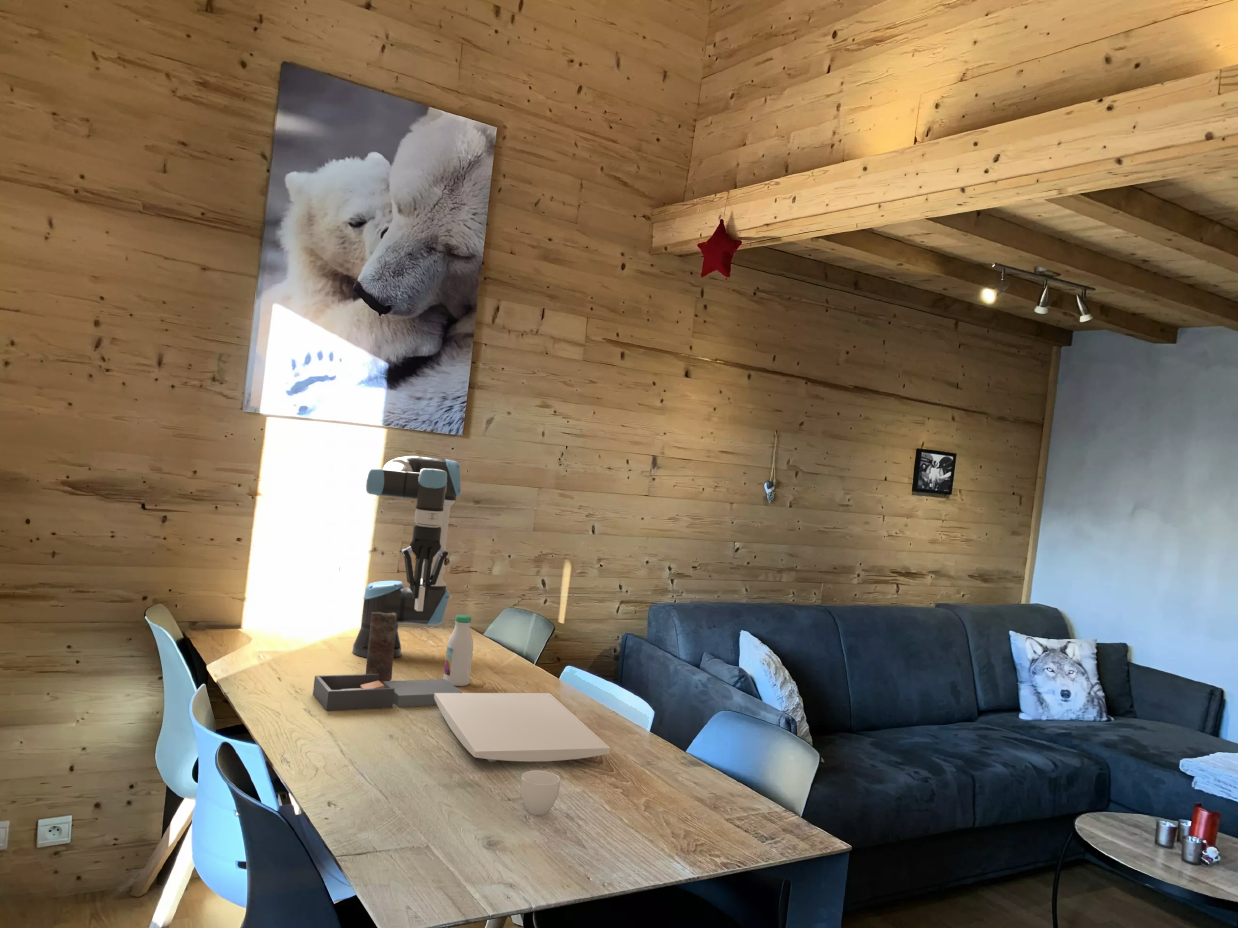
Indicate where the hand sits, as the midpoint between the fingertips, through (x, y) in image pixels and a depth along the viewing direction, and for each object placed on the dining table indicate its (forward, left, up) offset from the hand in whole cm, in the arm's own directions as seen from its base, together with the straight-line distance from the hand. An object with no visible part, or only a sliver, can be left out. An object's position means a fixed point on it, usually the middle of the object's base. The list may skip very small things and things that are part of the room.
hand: (418, 609), depth 248 cm
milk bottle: (-10, +18, -24) cm, 32 cm away
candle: (-15, -4, -24) cm, 29 cm away
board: (+38, +15, -24) cm, 47 cm away
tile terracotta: (+3, -11, -22) cm, 24 cm away
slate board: (+3, +3, -24) cm, 24 cm away
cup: (+80, 0, -24) cm, 83 cm away
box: (+3, -16, -24) cm, 29 cm away
